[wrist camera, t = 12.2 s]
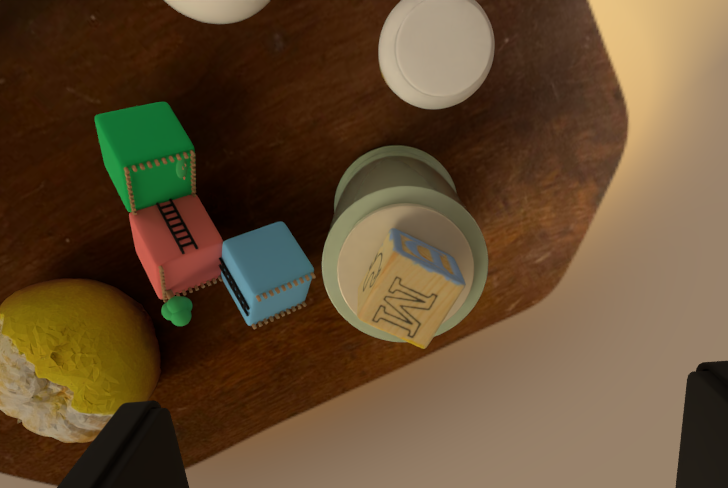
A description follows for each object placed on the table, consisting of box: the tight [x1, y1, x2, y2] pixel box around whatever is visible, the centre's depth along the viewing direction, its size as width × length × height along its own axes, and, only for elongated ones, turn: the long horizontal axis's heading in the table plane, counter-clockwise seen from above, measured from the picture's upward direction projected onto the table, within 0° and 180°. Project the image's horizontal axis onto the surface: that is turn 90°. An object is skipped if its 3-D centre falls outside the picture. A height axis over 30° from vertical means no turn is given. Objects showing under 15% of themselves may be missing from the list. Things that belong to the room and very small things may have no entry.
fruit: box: [0, 278, 161, 443], centre depth 34 cm, size 11×10×8 cm
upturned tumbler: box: [322, 145, 488, 342], centre depth 28 cm, size 8×8×12 cm
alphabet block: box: [357, 228, 466, 349], centre depth 21 cm, size 3×3×3 cm
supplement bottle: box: [378, 0, 495, 109], centre depth 26 cm, size 5×5×10 cm
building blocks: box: [95, 102, 316, 329], centre depth 31 cm, size 8×8×12 cm
